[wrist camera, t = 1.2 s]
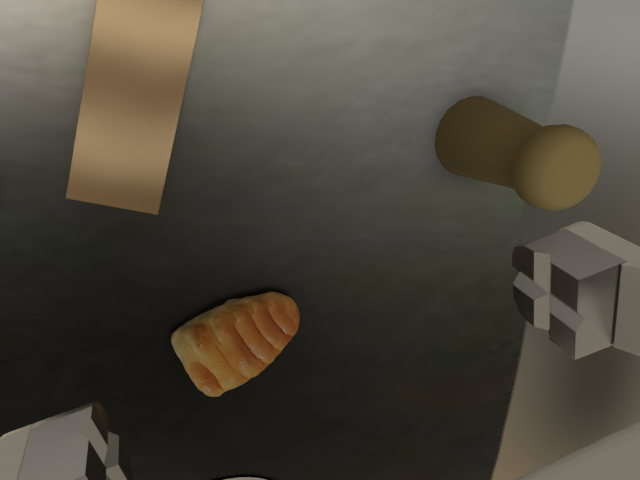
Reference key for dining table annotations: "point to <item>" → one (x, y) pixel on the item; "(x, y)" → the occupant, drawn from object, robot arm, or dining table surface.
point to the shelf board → (132, 101)
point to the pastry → (235, 340)
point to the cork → (518, 153)
